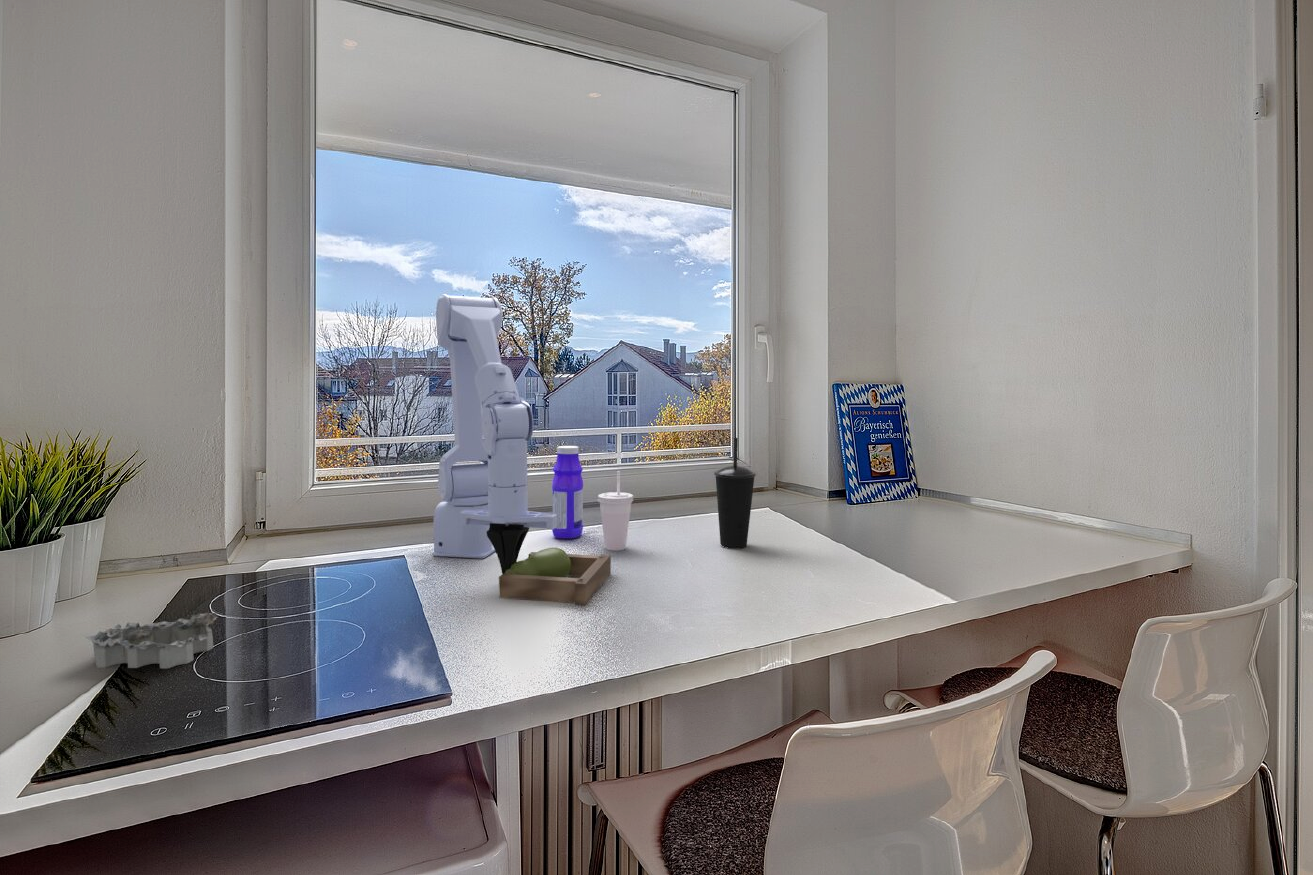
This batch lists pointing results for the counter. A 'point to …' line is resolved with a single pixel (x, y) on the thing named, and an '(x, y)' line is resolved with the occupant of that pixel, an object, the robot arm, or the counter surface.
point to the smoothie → (615, 517)
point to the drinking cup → (734, 502)
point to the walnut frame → (560, 582)
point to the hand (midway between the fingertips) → (508, 573)
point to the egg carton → (154, 642)
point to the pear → (543, 564)
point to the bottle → (568, 493)
